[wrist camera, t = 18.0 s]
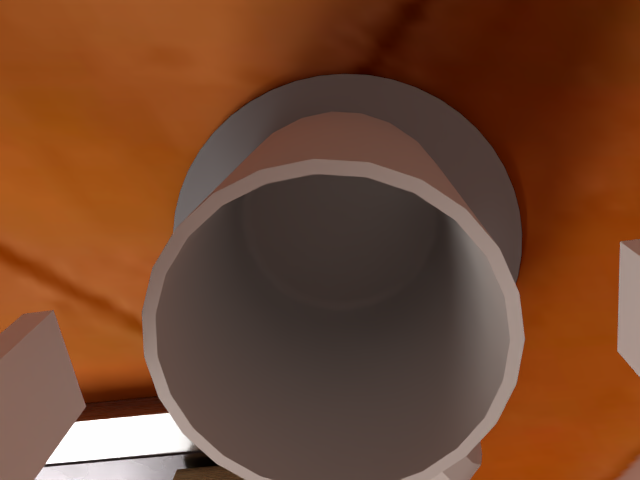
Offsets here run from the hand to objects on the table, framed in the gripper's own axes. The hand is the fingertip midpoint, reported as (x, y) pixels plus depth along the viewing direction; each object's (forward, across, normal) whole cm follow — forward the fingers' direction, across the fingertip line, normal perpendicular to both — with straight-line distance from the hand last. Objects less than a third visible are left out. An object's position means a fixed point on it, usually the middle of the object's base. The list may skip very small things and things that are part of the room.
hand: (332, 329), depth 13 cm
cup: (+7, +1, -1) cm, 7 cm away
